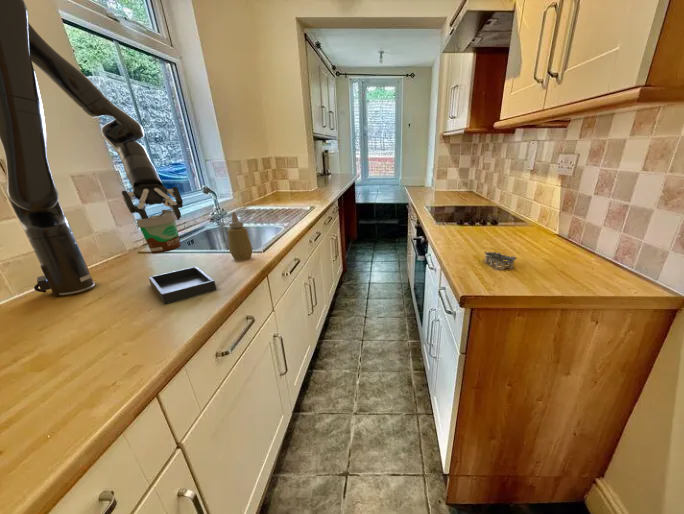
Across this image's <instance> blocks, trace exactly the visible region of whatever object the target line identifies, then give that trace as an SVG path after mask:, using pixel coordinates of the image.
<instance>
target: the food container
mask: <svg viewBox="0 0 684 514" xmlns="http://www.w3.org/2000/svg"><path fill="white" fill-rule="evenodd" d="M176 221H177V217H176V215H175V213H173V211H172V209H161V213H159V214H155V215H151V216H148V218H147V219H141V218H139V219H137V218H136V225H137V226H136V227H137V228H139V229H140V231H141V233H142V235H143V237H144V239H145V242H146V244H147V246H148V248H149V250H150V252H151V254H154V255H155V254H161V253H162V254H163V253H167V252H172V251H174V250H178V249H179V248H180V247H182V243H181V239H180V234H179V230H178V227H177V223H176Z"/></svg>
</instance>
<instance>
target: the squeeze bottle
mask: <svg viewBox="0 0 684 514" xmlns="http://www.w3.org/2000/svg"><path fill="white" fill-rule="evenodd" d="M228 226H229V228H228V229H227V239H228V240H227V241H228V249H229V254H231V256H232V258H233V260H234V261H235V262H247V261H250V260H251V259H252V255H253V246H252V242H251V239H250V236H249V232H248V228H247V227H246V226H244V222H243V221H242V220H240V219H239V216H238V214H237V212H236V211H232V212H231V221H229V222H228Z"/></svg>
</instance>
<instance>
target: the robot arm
mask: <svg viewBox="0 0 684 514" xmlns="http://www.w3.org/2000/svg"><path fill="white" fill-rule="evenodd" d="M33 64H34V65H35V66H36V67H37V68H38V69H40V70H41V72H43V73H44V74H45V75H46V76H47V77H48V78H49V79H50V80H51V81H52V82H53V83H54V84H56V85H57V87H58V88H59V89H61V91H63V92H64V93H65V94H66V95H67V96H68V97H69V98H70V99H71V100H72V101H73V102H74V103H75V104H76V105H77V106H78V107H79V108H80V109H82V111H83V112H85V113H86V114H87V115H88V116H89V117H91V118H98V117H99V118H100V117H103V116H108V117H111V118H113V120H111V121H109V122H107V123H106V124H104V125H103V126H102V127H101V136H102V138H103V139H104V140H105V141H106V142H107V143H108V144H109V145H110V146H111V147H112V148H113V150H114V151H115V152H116V154H117V155H118V156H119V159H120V160H121V163H122V165H123V168H124V172H125V175H126V178H127V179H128V181H129V183H130V185H131V188H132V190H133V191H130V192H129V191H127V190H122V191H121V196H122V200H123V201H124V203H125V205H126V207H127V209H128V211H129V212H130V214H135V213H137V214H139V216H140V219H147V218H149V216H148V213H147V211H146V209H147V207H148V205H149V206H153V205H164V206H165V207H168V208H170V210H171V211H173V213H175V215H176V217H177V219H176V221H179V220H181V218H182V213H181V211H180V209H181V208H183V207H184V204H183V203H184V201H183V198H182V195H181V193H180V191H179V189H178V187H177V186H173V187H172V188H167V187H165V186H164V184H163V182H162V180H161V178H160V176H159V173H158V171H157V169H156V167H155V165H154V163H153V162H152V161H151V158H150V157H149V154H148V153H147V150H146V148H145V147H144V146H143V145H142V143H139V142H138V141H140V140H142V139H143V138H144V137H145V131H144V128H143V126H142V125H141V124H140V123H139V121H137V120H136V119H135V118H134V117H132V116H131V115H130V114H129V113H126V112H125V111H124V110H123V109H121V108H120V107H119V106H117V105H116V104H114V103H113V102H112V101H111V100H110V99H108V98H107V97H106V96H105V94H103V92H101V90H100V89H99V88H98V87H97V86H96V85H95V84H94V83H93V82H92V81H91V80H90V79H89V78H88V77H87V76H86V75H85V74H84V73H83V72H82V71H80V69H78V68H77V67H76V66H75V65H73V64H72V63H70V62H69V60H67V59H66V58H64V57H63V56H62V55H61V54H59V53H58V52H57V51H56V50H55V49H54V48H53V47H52V46H50V45H49V44H48V43H47V41H46V40H44V38H42V36H41V35H40V34H39V33H38V32H37V31H36V30H35V29H34V26H32V25H31V24H30V23H29V11H28V7H27V5H26V2H25V0H0V144H1V146H2V149H3V153H4V157H5V164H6V166H5V167H6V175H7V176H6V177H7V180H6V182H5V184H4V192H5V195H6V197H7V199H8V201H9V203H10V205H11V207H12V209H13V211H14V213H15V215H16V218H17V220H18V222H19V224H20V225H21V228H22V229H23V231H24V233H25V236H26V238H27V239H28V242H29V243H30V245H31V247H32V250H33V252H34V254H35V256H36V258H37V260H38V262H39V265H40V266H39V267H40V269H41V272H42V274H43V275H41V276H37V279H36V284H35V285H34V286H33V289H34V291H36V292H39V293H45V294H46V293H47V292H48V291H49V290H51V292H52V294H53V296H54V297H55V298H57V297H62V296H63V297H65V296H71V295H72V296H73V295H76V294H77V295H78V294H81V293H85V292H87V291H89V290H92V289H93V288H95V287H96V283H95V281H94V279H93V276H92V275H91V272H90V269H89V267H88V264H87V263H86V261H85V257H84V255H83V252H82V250H81V248H80V246H79V244H78V241H77V239H76V237H75V234H74V231H73V229H72V226H71V224H70V222H69V221H68V219H67V216H66V215H65V213H64V211H63V208H62V206H61V203H60V201H59V192H58V190H57V186H56V184H55V181H54V178H53V173H52V171H51V167H50V164H49V160H48V148H47V147H48V146H47V145H48V144H47V143H48V142H47V130H46V121H45V116H44V115H45V114H44V113H45V112H44V108H43V102H42V98H41V93H40V88H39V84H38V80H37V76H36V72H35V68H34V65H33ZM169 195H170V196H171V197H173V198H174V199H175V200H173V199H172V198H171V197H170V196H169ZM134 198H135V199H137V200H139V202H138V204H137V205H134V202H133V199H134Z"/></svg>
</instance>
